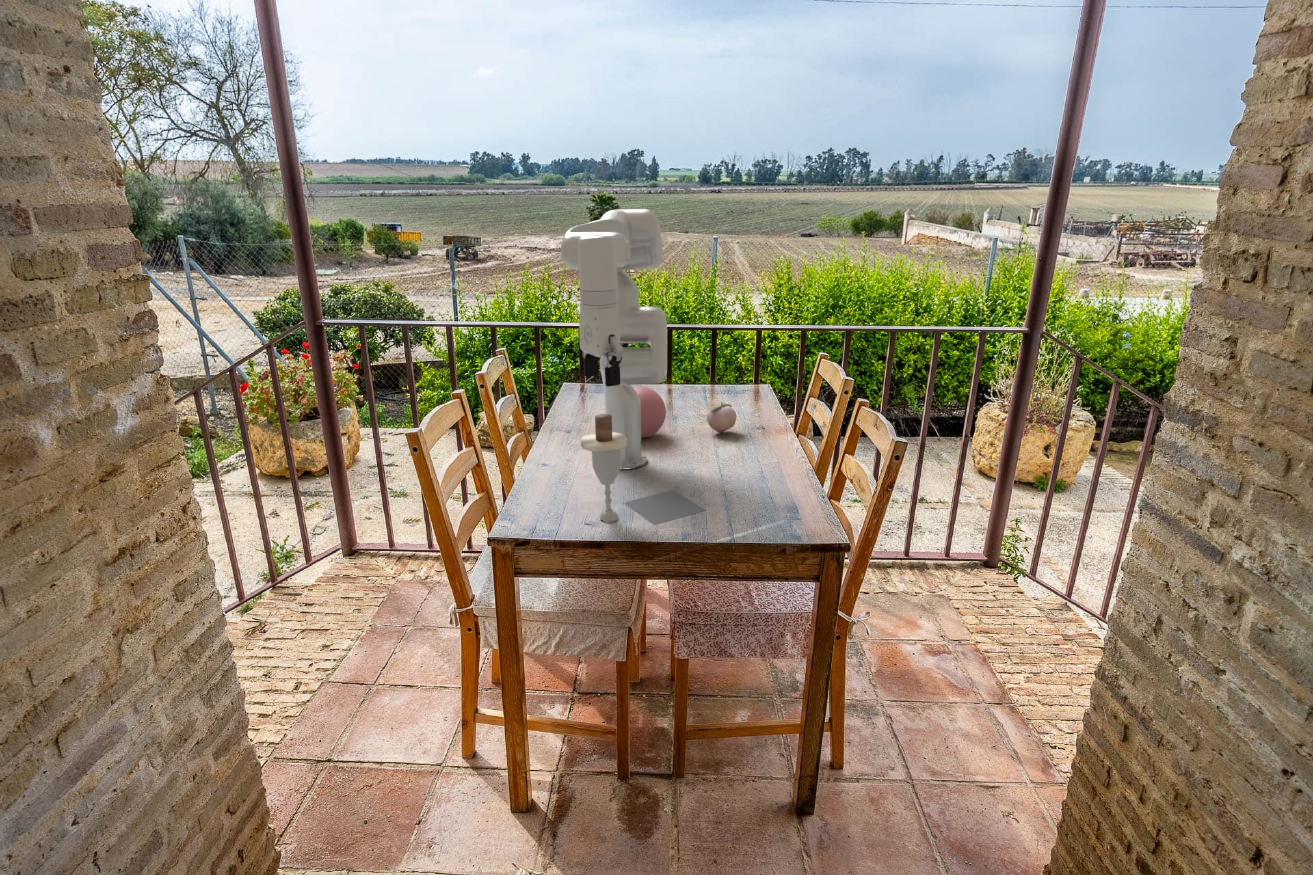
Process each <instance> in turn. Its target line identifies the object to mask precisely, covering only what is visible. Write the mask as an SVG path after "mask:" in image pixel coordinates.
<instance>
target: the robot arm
mask: <svg viewBox="0 0 1313 875" xmlns="http://www.w3.org/2000/svg"><path fill="white" fill-rule="evenodd" d="M662 241H663V240H662V232H661V226H660V223H659V219H658V217H657V215H656V213H655V212H654V211H652V210H651V209H648V208H629V209H628V208H627V209H626V208H621V209H619V208H617V209H611V210H609V211H607V212H605V213H603V214H602V216H601V217H600V219H597V220H593V221H590V222H586V223H582V224H578V225H575V226H572V227H570V228H569V229H568V230H567V231H566V232H565V234H564V235H563V238H562V240H561V245H560V255H561V260H562V262H563V263H564V265H565V266H566V267H567V268H568V269H571V270H578V275H579V276H578V278H579V279H578V280H579V300H580V308H579V309H580V310H579V325H578V326H579V333H578V334H579V335H578V336H579V339H578V340H579V349H580V350H581V351H582V357H583V370H584V372H583V373H584V374H583V375H584V377H585V378H589V377H595V376H599V374H601V379H602V384H603V394H604V395H603V396H604V414H610V415H612V432H616V433H621V434H623V435H625V436H626V437H627V446H626V447H625V448H623V449H621V467H620V468H633V469H636V468H635V467H638V466H641V467H643V466H645V465H646V464H647V463H646V462H648V456H647V454H645V453H644V452H642V438H641V403H640V398H639V395H638V394H637V392H636V391H635V390H634V387H633V386H632V385H659V384H661V383H663V382H664V381H665V380H666V377H667V373H668V322H667V317H666V313H665V311H664V310H663V309H662V308H660V307H658V306H652V305H651V306H647V305H646V306H640V302H639V301H640V300H639V299H640V289H639V287H638V285H637V283H636V281H635V280H634V279H633V278H632V276H631V275H630V274H629V273H627V271H626V270H632V271H633V270H635V271H636V270H639V271H640V270H647V271H648V270H656V269H658V268H659V267H660V266H661V263H662V261H663V257H664V254H663V242H662ZM621 344H648V345H649V346H650V347H628V346H627V347H626V346H622V345H621ZM599 368H600V371H599ZM599 372H600V373H599ZM645 463H646V464H645ZM642 465H643V466H642ZM638 468H639V467H638Z"/></svg>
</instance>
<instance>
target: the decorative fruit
mask: <svg viewBox="0 0 1313 875" xmlns="http://www.w3.org/2000/svg"><path fill="white" fill-rule="evenodd" d="M706 421H707V423H708V425H709V427H710V428H711V429H712V430H714V431H715V432H717V433H718V434H723V433H724V432H726V431H728V430H731V429H732V428H734V426H735V425H736V421H737V412H736V411H735V409H734V408H733V407H732V405H731V404H729V403H723V402H722V401H721V404H718V405H714V406H713V407H712V408H711V409H710V410H709V411H708V412H707V415H706Z"/></svg>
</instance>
